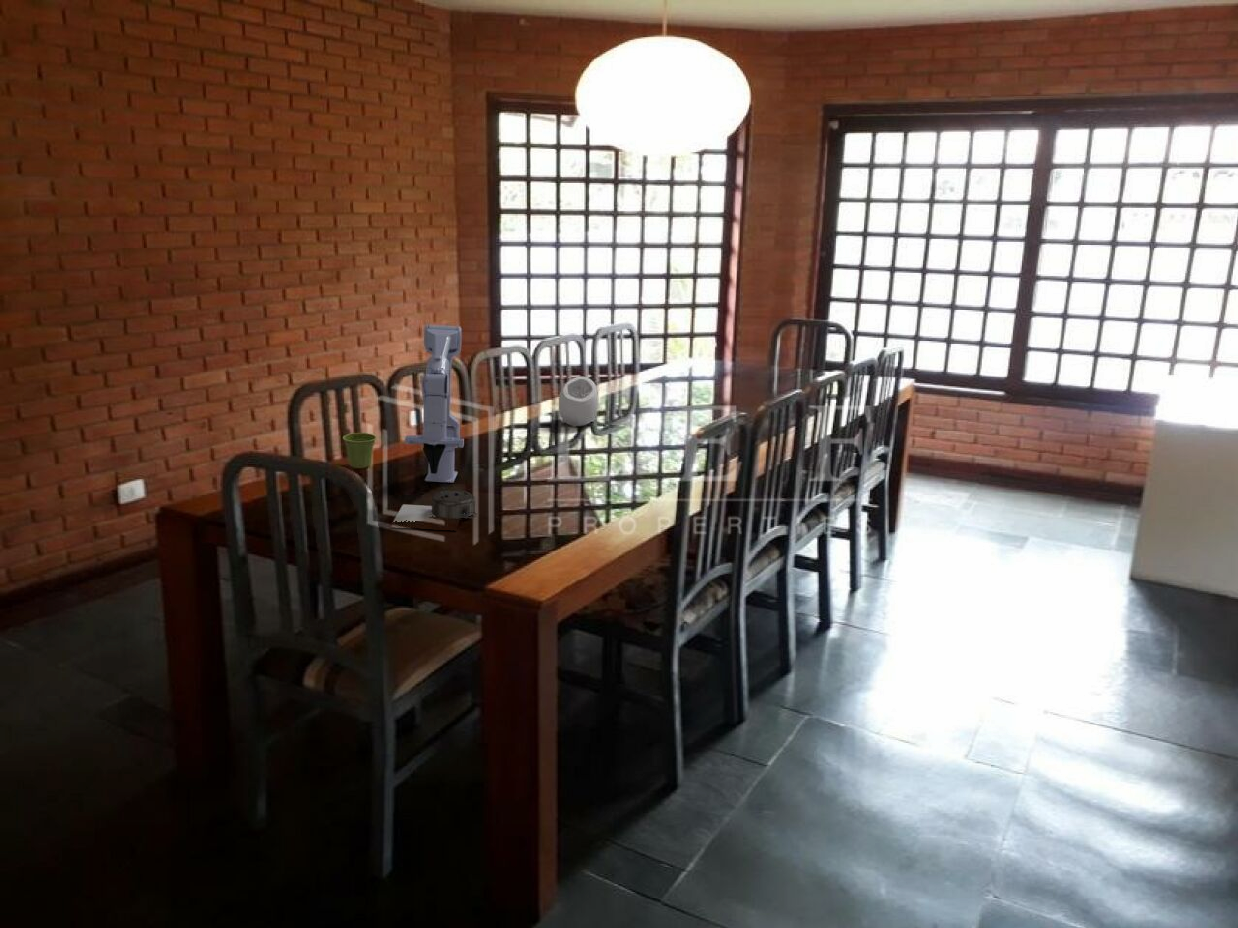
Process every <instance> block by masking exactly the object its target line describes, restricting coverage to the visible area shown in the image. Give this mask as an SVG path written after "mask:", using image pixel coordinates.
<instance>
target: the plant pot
mask: <svg viewBox="0 0 1238 928" xmlns="http://www.w3.org/2000/svg"><path fill="white" fill-rule="evenodd" d="M342 439H343V441H344V443H345V446H346V452H347V453H346V454H347V458H348V463H349V464H348V465H349V467H352V468H353V469H365V468H367V467H368V468H369V467H371V466H372V460H373V452H374V445H375V443H376V440H377V436H376V435H375V434H373V433H367V432H355V433H353V432H352V433H348V434H344V435H343V437H342Z"/></svg>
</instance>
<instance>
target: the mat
mask: <svg viewBox="0 0 1238 928" xmlns="http://www.w3.org/2000/svg"><path fill="white" fill-rule="evenodd" d="M432 516H433V517H436V516H435V515H434V514H433V513H432V505H421V504H406V503H405V504H402V505H401V507H400V509H399V511H398V512H397V515H396V516H395V517H394V519H393V522H395V521H397V522H401V521H402V522H404V521H406V520H407V521H406V522H408V521H410V522H412V521H413V522H415V521H423V520H425V519H426V518H429V517H432ZM393 522H392V523H393Z"/></svg>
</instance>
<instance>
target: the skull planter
mask: <svg viewBox="0 0 1238 928" xmlns="http://www.w3.org/2000/svg"><path fill="white" fill-rule="evenodd" d="M558 396H559V397H558V411H559V415H560V417H561V420H562V421H563V422H565V423H566V424H568V425H569V426H571V427H573V428H576V427H583V426H586V425H588V424H590V423H591V422H592V423H593V422H595V420H596V416H597V413H598V411H597V410H598V409H599V401H598V398H599V391H598V387H597V385H596V383H595V382H594V381H593V380H592V379H591V378H589V377H587V376H577V377H573V378H571V379H569V380H568V381H567V382H565V384H564V385H563V387H562V388H561V391H560V392H559V395H558Z"/></svg>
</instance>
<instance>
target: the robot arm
mask: <svg viewBox="0 0 1238 928" xmlns="http://www.w3.org/2000/svg"><path fill="white" fill-rule="evenodd" d="M462 330H463V329H462V327H461V326H460V325H457V326H456V325H442V324H441V325H438V324H426V325H425V326H424V329H423V345H424V347H425V350H426V353H428V354H430V355H431V356H429V358H428V359H427V361H426V369H425V373H424V375H422V377H421V394H422V395H421V396H422V404H423V420H422V421H423V425H422V426H423V432H422V433H423V434H415V435H414V434H413V435H412V434H409V435H408V434H407V435H406V436H405V437H404V441H405V443H404V444H405V445H422V446H423V447H422V450H423V453H424V455H425V456H426V459H427V462H428V465H427V466H428V467H427V468H428V471H427V472H428V473H427V475H426V477H425V479H424V481H425V482H433V483H434V482H435V483H437V482H438V483H448V484H449V483H454V482H455V480H456V477H457V476H458V471H455V450H456V449H455V448H460V449H463V448H464V446H465V438H461V428H460V421H459V419H458V418H457V417H456V416H454V415H452V414H451V391H452V390H451V389H452V387H451V385H452V361H453V359H454V357H455V356H457V355H460V354H461V351H462V339H463V337H462V335H463V333H462Z"/></svg>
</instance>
